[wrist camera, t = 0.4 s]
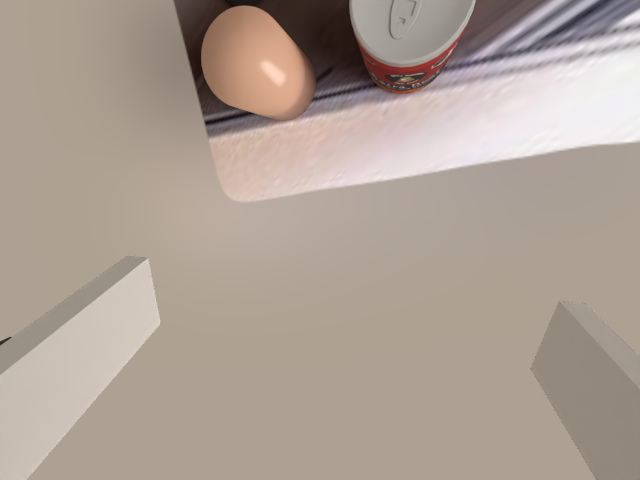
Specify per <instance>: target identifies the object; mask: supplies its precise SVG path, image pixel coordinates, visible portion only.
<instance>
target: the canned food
mask: <svg viewBox="0 0 640 480" xmlns="http://www.w3.org/2000/svg"><path fill="white" fill-rule="evenodd" d="M475 1H476V0H350V6H349V8H350V17H351V23H352V27H353V31H354V34H355V37H356V40H357V43H358V45H359V48H360V51H361V54H362V56H363V59H364V62H365V65H366V68H367V70H368V73H369V74H370V76H371V78H372V79H373V80H374V81H375V83H376V84H377V85H378V86H380V87H381V88H383V89H384V90H387V91H389V92H392V93H398V94H406V93H411V92H415V91H418V90H420V89H422V88H424V87H426V86H427V85H428V84H430V83H431V82H432V81H433V80H434V79H435V78H436V77H437V76H438V75H439V74H440V72H441V71H442V70H443V68H444V67H445V65H446V63H447V61H448V59H449V57H450V56H451V54H452V52H453V50H454V48H455V46H456V44H457V43H458V41H459V39H460V37H461V35H462V33H463V31H464V29H465V27H466V25H467V23H468V20H469V18H470V16H471V14H472V12H473V9H474V5H475Z"/></svg>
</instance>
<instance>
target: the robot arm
mask: <svg viewBox="0 0 640 480" xmlns="http://www.w3.org/2000/svg"><path fill="white" fill-rule="evenodd" d="M159 325H160V318H159V312H158V307H157V302H156V296H155V291H154V286H153V281H152V275H151V270H150V265H149V260H148V258H143V257H134V256H126V257H124V258H123V259H122V260H120V261H119V262H117V263H116V264H114V266H112V267H110V268H109V269H107V270H106V271H105V272H103V273H102V274H100V275H99V276H98V277H96V278H95V279H93V280H92V281H91V282H89V283H88V284H86V285H85V286H84V287H82V288H81V289H79V290H78V291H76V292H75V293H74V294H72V295H71V296H69V297H68V298H67V299H65V300H64V301H62V302H61V303H60V304H58V305H57V306H55V307H54V308H53V309H51V310H50V311H49V312H47V313H46V314H44V315H43V316H41V317H40V318H39V319H37V320H36V321H34V322H33V323H31V324H30V325H29V326H27V327H26V328H24V329H23V330H22V331H20V332H19V333H17V334H16V335H15V336H13V337H9V338H7V339H5V340H2V341H0V480H27V478H28V477H29V476H30V475H31V474H32V472H33V471H34V470H35V469H36V468H37V467H38V466H39V464H40V463H41V462H42V461H43V460H44V459H45V457H46V456H47V455H48V454H49V453H50V451H51V450H52V449H53V448H54V447H55V446H56V445H57V443H58V442H59V441H60V440H61V439H62V438H63V437H64V435H65V434H66V433H67V432H68V431H69V429H70V428H71V427H72V426H73V425H74V424H75V423H76V421H77V420H78V419H79V418H80V417H81V416H82V414H83V413H84V412H85V411H86V410H87V409H88V407H89V406H90V405H91V404H92V403H93V402H94V400H95V399H96V398H97V397H98V396H99V395H100V393H101V392H102V391H103V390H104V389H105V388H106V386H107V385H108V384H109V383H110V382H111V381H112V380H113V378H114V377H115V376H116V375H117V374H118V373H119V371H120V370H121V369H122V368H123V367H124V365H125V364H126V363H127V362H128V361H129V360H130V359H131V357H132V356H133V355H134V354H135V353H136V352H137V350H138V349H139V348H140V347H141V346H142V345H143V343H144V342H145V341H146V340H147V338H148V337H149V336H150V335H151V334H152V333H153V332H154V331H155V329H156V328H157V327H158V326H159ZM531 371H532V372H533V374H534V375H535V377H536V379H537V381H538V382H539V384H540V385H541V387H542V389H543V391H544V392H545V394H546V396H547V398H548V399H549V401H550V403H551V404H552V406H553V408H554V409H555V411H556V413H557V414H558V416H559V418H560V419H561V421H562V423H563V425H564V426H565V428H566V430H567V431H568V433H569V435H570V436H571V438H572V440H573V441H574V443H575V445H576V446H577V448H578V450H579V452H580V453H581V455H582V457H583V458H584V460H585V462H586V463H587V465H588V467H589V468H590V470H591V472H592V473H593V475H594V477H595V478H596V480H640V356H639V355H638V354H637V353H636V352H635V351H634V350H633V349H632V348H631V347H630V346H629V345H628V344H627V343H626V342H625V341H624V340H623V339H622V338H620V336H619V335H618V334H617V333H616V332H615V331H613V330H612V329H611V328H610V327H609V326H608V325H607V324H606V323H605V322H604V321H603V320H602V319H601V318H600V317H599V316H598V315H597V314H596V313H595V312H594V311H593V310H592V309H591V308H590V307H589V306H588V305H587V304H584V303H574V302H565V301H559V302H558V305H557V307H556V309H555V312H554V314H553V316H552V319H551V321H550V324H549V326H548V328H547V331H546V333H545V335H544V338H543V340H542V342H541V345H540V347H539V350H538V352H537V354H536V356H535V359H534V361H533V364H532V366H531Z"/></svg>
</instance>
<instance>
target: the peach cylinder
mask: <svg viewBox="0 0 640 480" xmlns="http://www.w3.org/2000/svg"><path fill="white" fill-rule="evenodd" d="M201 62H202V69H203V73H204V77H205V79H206V82H207V84H208V85H209V87H210V89H211V90H212V92H213V93H214V94H215V95H216V96H217V97H218V98H219V99H220V100H221V101H223V102H224V103H226V104H228V105H230V106H233V107H236V108H239V109H242V110H245V111H248V112H252V113H255V114H258V115H261V116H264V117H268V118H271V119H274V120H279V121H287V120H291V119H294V118H296V117H298V116H300V115H301V114H302V113H303V112H305V111H306V109H307V108H308V107H309V105H310V104H311V102H312V100H313V98H314V95H315V91H316V74H315V70H314V68H313V65H312V63H311V61H310V60H309V59H308V57H307V56H306V55H305V54H304V53H303V51H302V50H301V49H300V48H299V47H298V46H297V45H296V44H295V42H294V41H293V40H292V39H291V38H290V37H289V36H288V35H287V33H286V32H285V31H284V30H283V29H282V28H281V27H280V26H279V24H278V23H277V22H276V21H275V20H274V19H273V18H272V17H271V16H270V15H269V14H267V13H266V12H265V11H263V10H261V9H259V8H256V7H252V6H236V7H233V8H230V9H228V10H226V11H224V12H223V13H221V14H220V15H219V16H218V17H217V18H216V19H215V20H214V21H213V22H212V24H211V25H210V27H209V28H208V30H207V32H206V35H205V37H204V41H203V45H202V51H201Z"/></svg>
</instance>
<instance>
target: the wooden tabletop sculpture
mask: <svg viewBox="0 0 640 480" xmlns="http://www.w3.org/2000/svg"><path fill="white" fill-rule="evenodd" d="M227 1H228V2H229V3H230V4H232V5H233V6H235V7H236V6H252V7H256V6H257V4H258V3H259V2H260V1H261V0H227Z"/></svg>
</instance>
